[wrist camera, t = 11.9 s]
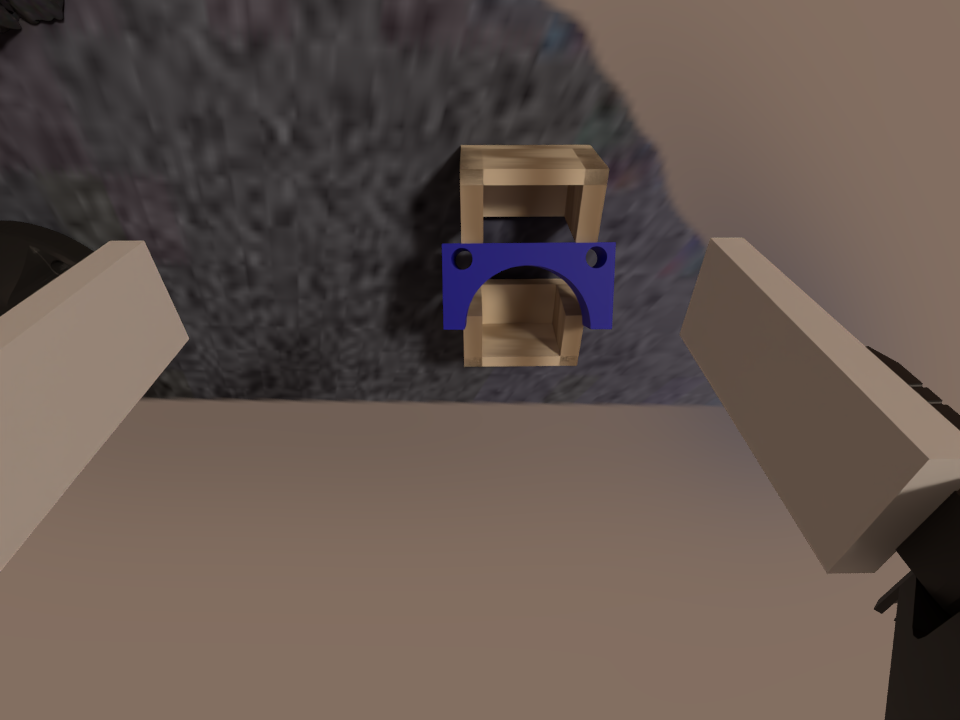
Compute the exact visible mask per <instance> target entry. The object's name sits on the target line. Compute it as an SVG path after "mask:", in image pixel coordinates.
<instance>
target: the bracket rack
mask: <svg viewBox="0 0 960 720" xmlns="http://www.w3.org/2000/svg"><path fill="white" fill-rule="evenodd" d="M608 174H609V168H608V167H607V165H606V164H605V163H604V162H603V160H602V159H601V158H600V157H599V155H598V154H597V153H596V152H595V150H594V149H593V148H592V147H591V145H461V156H460V200H461V243H483V217H544V216H564V217H565V219H566V222H567V224H568V226H569V229H570V231H571V233H572V236H573V238H574V240H575V243H595V242H597V240H598V234H599V228H600V222H601V216H602V210H603V204H604V198H605V192H606V186H607V180H608ZM463 331H464V367H476V366H577V361H578V355H579V349H580V343H581V337H582V331H583V325H582V312H581V308H580V305H579V302H578V300H577V298H576V296H575V294H574V292H573V291H572V289H571V288H570V287H569V285H568V284H567V283H566V282H565V281H564V280H563V279H488V280H487V281H486V282H485V283H484V284H483V285H482V286H481V287H480V288H479V289H478V291H477V292H476V293H475V295H474V297H473V299H472V301H471V303H470V306H469V310H468V314H467V324H466V327H465V330H463Z"/></svg>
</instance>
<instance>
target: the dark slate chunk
mask: <svg viewBox="0 0 960 720" xmlns="http://www.w3.org/2000/svg"><path fill="white" fill-rule="evenodd" d="M63 4H64V0H0V33H3V32H6V31H8V30H9V29H10V28H12V29H21V26H20V24H19V22H18V21H19V18H23V19H25V20H26V21H28V22H29V23H32V24H36V23H39V19H40V20H46V21H51V20H52V19H53V18H56V19H59V20H60V19H63ZM14 10H15V11H16V12H15V11H14ZM10 11H13V14H11V13H10Z"/></svg>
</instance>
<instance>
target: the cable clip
mask: <svg viewBox="0 0 960 720" xmlns="http://www.w3.org/2000/svg"><path fill="white" fill-rule="evenodd" d="M615 247H616V242H595V243H459V244H442V276H443V325H444V330H465V327H466V324H467V314H468V310H469V306H470V303H471V301H472V299H473V297H474V295H475V293H476V292H477V291H478V289H479V288H480V287H481V286H482V285H483V284H484V283H485V282H486V281H487V280H488V279H490V278H491V277H492V276H494V275H495V274H497V273H499V272H501V271H503V270H506V269H508V268H512V267H518V266H534V267H539V268H542V269H545V270H548V271H550V272H552V273H554V274H556V275H557V276H559V277H560V278H561V279H563V280H564V281H565V282H566V283H567V284H568V285H569V287H570V288H571V289H572V291H573V292H574V294H575V296H576V298H577V300H578V302H579V305H580V308H581V312H582V325H584V326H586V327H588V328H590V329H612V314H613V292H614V269H615ZM589 249H592V250H594V251H595V252H596V254H597V262H596V264H595V265H594V266H593V267H590V266H589V265H588V264H587V262H586V253H587V251H588V250H589ZM462 251H468V252H470V253H471V254H472V257H473V261H472V264H471V266H470V267H469V268H467V269H465V270H461V269H460V268H458V266H457V265H456V257H457V255H458V254H459V253H460V252H462Z"/></svg>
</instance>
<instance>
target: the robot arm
mask: <svg viewBox="0 0 960 720" xmlns="http://www.w3.org/2000/svg"><path fill="white" fill-rule="evenodd" d="M680 336H681V338H682V339H683V341H684V343H685V344H686V346H687V348H688V349H689V351H690V352H691V354H692V356H693V357H694V359H695V361H696V362H697V364H698V365H699V367H700V369H701V370H702V372H703V373H704V375H705V377H706V378H707V380H708V382H709V383H710V385H711V386H712V388H713V390H714V391H715V393H716V395H717V396H718V398H719V399H720V401H721V403H722V404H723V406H724V407H725V409H726V411H727V412H728V414H729V416H730V417H731V419H732V420H733V422H734V424H735V425H736V427H737V429H738V430H739V432H740V433H741V435H742V437H743V438H744V440H745V441H746V442H747V445H748V446H749V448H750V450H751V451H752V453H753V454H754V456H755V458H756V459H757V461H758V462H759V464H760V466H761V467H762V469H763V471H764V472H765V474H766V475H767V477H768V479H769V480H770V482H771V483H772V485H773V487H774V488H775V490H776V491H777V493H778V495H779V496H780V498H781V500H782V501H783V503H784V504H785V506H786V508H787V509H788V511H789V513H790V514H791V516H792V518H793V519H794V521H795V522H796V524H797V526H798V527H799V529H800V530H801V532H802V534H803V535H804V537H805V539H806V540H807V542H808V543H809V545H810V547H811V548H812V550H813V551H814V553H815V554H816V556H817V558H818V560H819V561H820V563H821V565H822V566H823V568H824V569H825V571H826V572H827V573H875V572H876V571H877V570H878V569H879V568H880V567H881V566H882V565H883V564H884V563H885V562H886V561H887V560H888V559H889V558H890V557H891V556H892V555H893V554H894V553H895V552H896V551H897V552H898V554H899V555H900V556H901V558H902V559H903V560H904V561H905V563H906V564H907V565H908V567H909V568H910V569H911V571H910V572H909V573H908V574H907V575H906V576H904V577H903V578H902V579H901V580H900V581H899V582H898V583H897V584H895V585H894V586H893V587H892V588H891V589H890V590H889V591H888V592H887V593H886V594H884V595H883V596H882V597H881V598H880V599H879V600H878V602H877V604H876V606H875V607H874V610H876V611H878V612H880V613H881V614H882V613H883V612H885V611H886V610H887V609H888V608H889V607H890V606H891V605H893V604H894V603H898V605H897V614H896V618H895V619H894V621H896V623H895V632H894V641H893V650H892V659H891V668H890V677H889V686H888V695H887V704H886V713H885V720H960V415H959V414H958V413H956V412H955V411H954V410H953V409H952V408H951V407H949V406H948V405H943V404H942V400H941V399H940V398H939V397H938V396H937V395H935V394H934V393H933V392H932V391H931V390H930V389H929V388H927V387H926V388H923V387H922V383H921V382H920V381H919V380H918V379H917V378H916V377H914V376H913V375H912V374H911V373H910V372H909V371H908V370H906V369H905V368H904V367H903V366H902V365H900V364H899V363H898V362H896V361H894V360H892V359H890V358H889V357H887V356H885V355H883V354H881V353H880V352H878V351H876V350H874V349H872V348H870V347H869V346H864V345H863V344H862V343H861V342H859V341H858V340H857V339H856V338H855V337H854V336H853V335H852V334H850V333H849V332H848V331H847V330H846V329H845V328H844V327H843V326H841V325H840V324H839V323H838V322H837V321H836V320H835V319H834V318H832V317H831V316H830V315H829V314H828V313H827V312H826V311H825V310H824V309H822V308H821V307H820V306H819V305H818V304H817V303H816V302H815V301H813V300H812V299H811V298H810V297H809V296H808V295H807V294H806V293H804V292H803V291H802V290H801V289H800V288H799V287H798V286H797V285H795V284H794V283H793V282H792V281H791V280H790V279H789V278H788V277H786V276H785V275H784V274H783V273H782V272H781V271H780V270H779V269H777V268H776V267H775V266H774V265H773V264H772V263H771V262H769V261H768V260H767V259H766V258H765V257H764V256H763V255H762V254H761V253H759V252H758V251H757V250H756V249H755V248H754V247H753V246H752V245H750V244H749V243H748V242H747V241H746V240H745V239H744V238H710V241H709V244H708V247H707V250H706V254H705V257H704V260H703V263H702V266H701V269H700V272H699V275H698V279H697V282H696V285H695V288H694V291H693V294H692V297H691V300H690V303H689V307H688V310H687V313H686V316H685V319H684V322H683V325H682V328H681V332H680ZM188 340H189V337H188V335H187V333H186V331H185V328H184V326H183V324H182V322H181V320H180V318H179V315H178V313H177V311H176V309H175V307H174V305H173V302H172V300H171V298H170V296H169V294H168V292H167V289H166V287H165V285H164V283H163V281H162V279H161V276H160V274H159V272H158V270H157V268H156V266H155V264H154V261H153V259H152V257H151V255H150V253H149V251H148V248H147V246H146V244H145V242H144V241H109V242H108V243H106V244H105V245H104V246H102V247H101V248H99V249H98V250H96V251H95V252H93V251H92V250H91V249H89V248H87V247H86V246H84V245H82V244H81V243H79V242H77V241H75V240H73V239H71V238H69V237H67V236H65V235H63V234H60V233H58V232H56V231H53V230H50V229H47V228H44V227H41V226H37V225H34V224H29V223H24V222H17V221H0V571H1V570H2V569H3V567H4V566H5V565H6V564H7V563H8V561H9V560H10V559H11V558H12V556H13V555H14V554H15V553H16V552H17V550H18V549H19V548H20V547H21V545H22V544H23V543H24V542H25V540H26V539H27V538H28V537H29V535H30V534H31V533H32V532H33V531H34V529H35V528H36V527H37V526H38V524H39V523H40V522H41V521H42V520H43V518H44V517H45V516H46V515H47V513H48V512H49V511H50V510H51V508H52V507H53V506H54V504H56V502H57V501H58V500H59V499H60V497H61V496H62V495H63V493H64V492H65V491H66V490H67V489H68V488H69V486H70V485H71V484H72V483H73V481H74V480H75V479H76V478H77V476H78V475H79V474H80V473H81V471H82V470H83V469H84V468H85V467H86V465H87V464H88V463H89V462H90V460H91V459H92V458H93V457H94V456H95V454H96V453H97V452H98V451H99V449H100V448H101V447H102V446H103V444H104V443H105V442H106V441H107V439H108V438H109V437H110V436H111V435H112V433H113V432H114V431H115V429H116V428H117V427H118V426H119V425H120V423H121V422H122V421H123V419H124V418H125V417H126V416H127V415H128V414H129V412H130V411H131V410H132V409H133V407H134V406H135V405H136V404H137V402H138V401H139V400H140V399H141V398H142V396H143V395H144V394H145V393H146V391H147V390H148V389H149V388H150V387H151V385H152V384H153V383H154V382H155V380H156V379H157V378H158V377H159V375H160V374H161V373H162V372H163V371H164V369H165V368H166V367H167V366H168V364H169V363H170V362H171V361H172V359H173V358H174V357H175V356H176V354H177V353H178V352H179V351H180V350H181V348H182V347H183V346H184V345H185V343H186V342H187V341H188Z"/></svg>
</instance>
